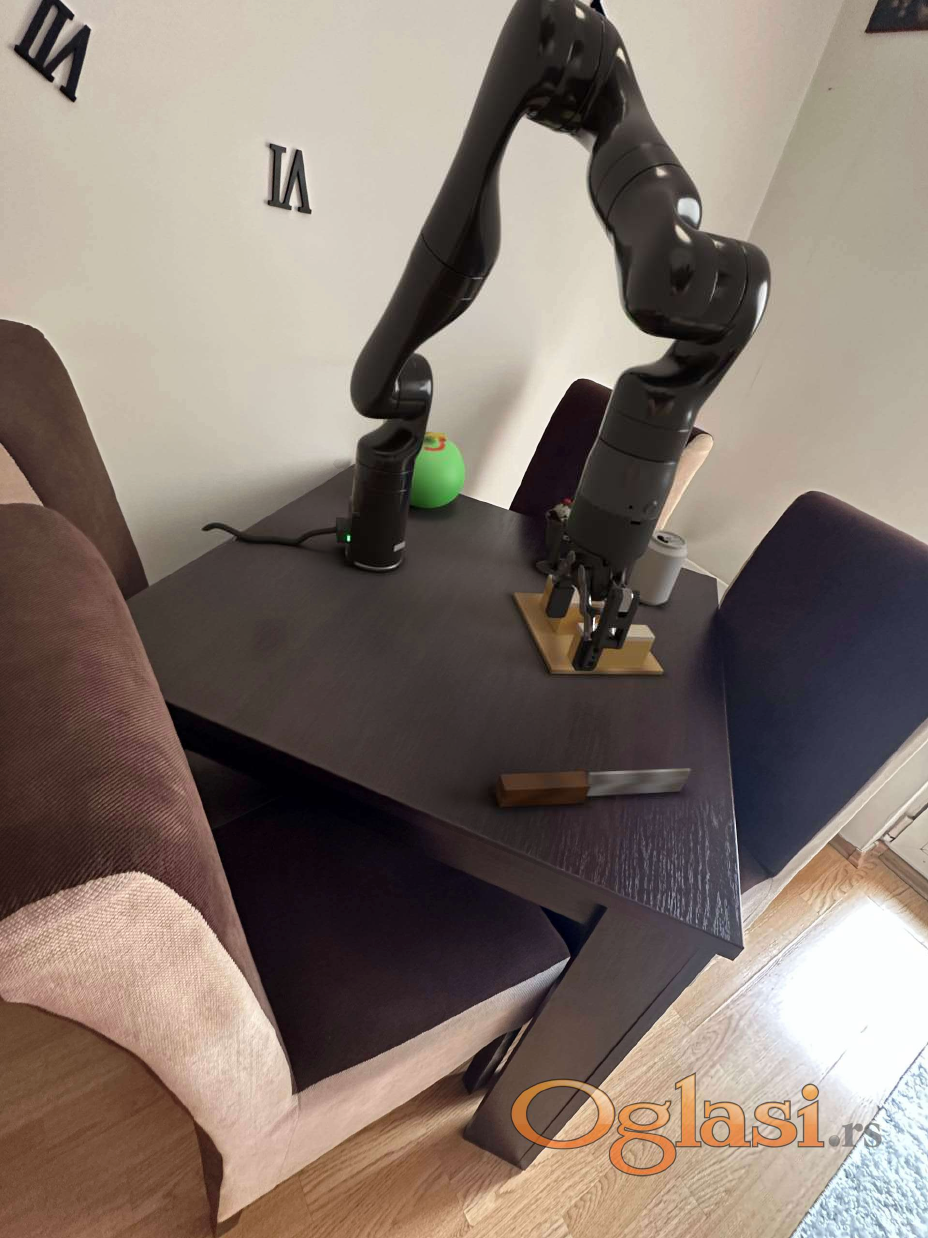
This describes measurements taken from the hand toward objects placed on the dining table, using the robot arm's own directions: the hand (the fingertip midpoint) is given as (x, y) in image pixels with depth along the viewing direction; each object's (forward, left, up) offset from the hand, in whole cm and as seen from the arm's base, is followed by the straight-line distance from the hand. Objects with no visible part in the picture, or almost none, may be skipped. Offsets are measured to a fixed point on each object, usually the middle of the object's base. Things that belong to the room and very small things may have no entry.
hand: (567, 641), depth 66 cm
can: (+35, +39, -19) cm, 56 cm away
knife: (+7, -4, -19) cm, 20 cm away
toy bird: (-1, +71, -19) cm, 74 cm away
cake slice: (+18, +19, -18) cm, 32 cm away
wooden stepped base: (+18, +27, -19) cm, 38 cm away
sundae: (+19, +47, -19) cm, 54 cm away
